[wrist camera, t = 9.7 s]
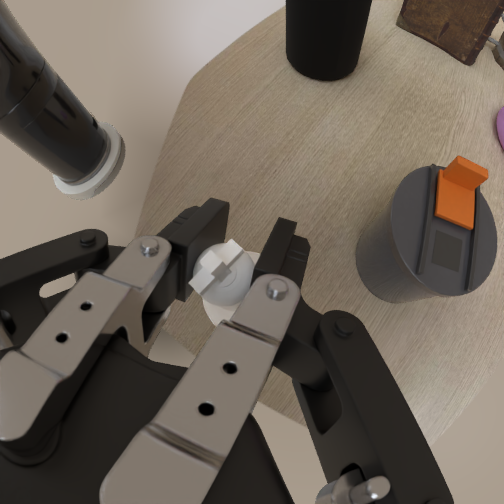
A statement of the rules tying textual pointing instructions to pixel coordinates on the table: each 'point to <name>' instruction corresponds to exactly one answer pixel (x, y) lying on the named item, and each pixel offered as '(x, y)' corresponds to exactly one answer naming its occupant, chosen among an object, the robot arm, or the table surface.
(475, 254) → the travel cup
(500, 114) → the teapot
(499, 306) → the table surface
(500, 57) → the mug
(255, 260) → the chess piece
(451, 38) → the book
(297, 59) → the coffee jar
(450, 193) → the lid slider
